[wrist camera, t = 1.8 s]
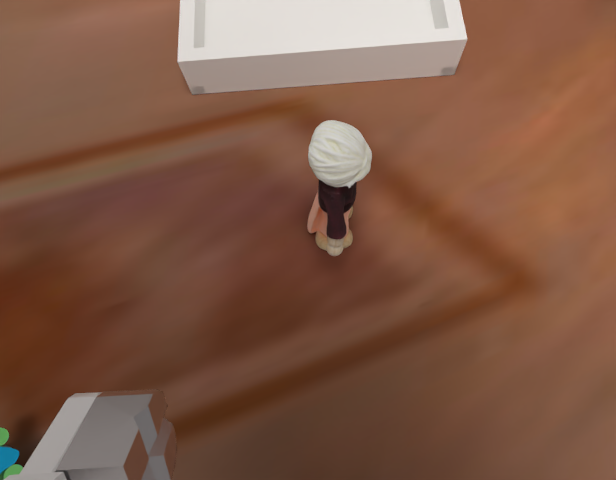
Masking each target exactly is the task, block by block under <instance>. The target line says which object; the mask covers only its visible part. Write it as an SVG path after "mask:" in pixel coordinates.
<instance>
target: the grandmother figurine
mask: <svg viewBox="0 0 616 480" xmlns="http://www.w3.org/2000/svg"><path fill="white" fill-rule="evenodd" d="M308 160H309V165H310V167H311V168H312V171H313V172H314V174H315V175H316V177H317V178H318V179H319V188H318V191H317V195H316V197H315V199H314V202H313V205H312V208H311V211H310V214H309V218H308V224H307V228H308V231H309V232H310V233H314V232H316V231H317V232H316V243H317V245H318V246H319V248H321V249H323V250H327V252H328V253H329V254H330V255H332V256H338V255H340V254H341V253H342V251H343V248H347V247H349V246H350V245H351V244H352V241H353V235H352V232H351V230H350V229H349V223H348V219H349V218H350V217H351V216H352V213H353V203H354V201H355V196H356V183H357V182H356V181H360V180H362V179H363V178H364V177H365V176H366V175H367V174H368V173H369V171H370V167H371V160H372V152H371V150H370V148H369V146H368V144H367V143H366V142H365V139H364V138H363V136H362V134H361V133H360V132H359V131H358V130H357V129H356V128H354V127H353V126H351V125H349V124H346V123H343V122H339V121H334V120H329V121H325V122H323V123H321V124H320V125H319V126H318V127H317V128H316V129H315V131H314V134H313V136H312V139H311V143H310V145H309V152H308Z"/></svg>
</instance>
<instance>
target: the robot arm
mask: <svg viewBox="0 0 616 480" xmlns="http://www.w3.org/2000/svg"><path fill="white" fill-rule="evenodd" d="M167 407H168V405H167V402H166V399H165V396H164V393H163V391H160V390H158V389H153V390H130V391H106V392H98V393H75V394H74V395H72V396H71V397H69V398H68V399H67V400H66V401H65V403H64V405H63V406H62V408H61V409H60V411H59V412H58V414H57V416H56V417H55V419H54V420H53V422H52V423H51V425H50V427H49V428H48V430H47V431H46V433H45V434H44V436H43V438H42V439H41V441H40V442H39V444H38V445H37V447H36V449H35V450H34V452H33V453H32V455H31V457H30V458H29V460H28V461H27V463H26V464H25V466H24V468H23V469H22V471H21V472H20V474H16V475H9V476H8V477H6V478H5V479H4V480H172V476H173V472H174V469H175V463H176V453H177V443H176V434H175V430H174V426H173V424H172V423H170V422H169V421H168V420H166V419H165V418H164V415H165V412H166V409H167Z"/></svg>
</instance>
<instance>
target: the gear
mask: <svg viewBox="0 0 616 480" xmlns="http://www.w3.org/2000/svg"><path fill="white" fill-rule="evenodd" d="M8 438H9V433H8V431H7V430H6V429H4V428H0V480H4V479H5V478H6V477H8V476H9V475H16V474H20V472H21V471H22V469H23V467H22V466H21V465H18V464H15V465H14V463H15V462H16V461H17V459H18V457H19V451H18V450H16V449H13V448H12V447H10V446H7V445H3V444H5V443H6V442H7V440H8Z"/></svg>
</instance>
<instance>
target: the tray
mask: <svg viewBox="0 0 616 480" xmlns="http://www.w3.org/2000/svg"><path fill="white" fill-rule="evenodd" d="M466 42H467V35H466V31H465V26H464V21H463V16H462V12H461V7H460V2H459V0H180V19H179V40H178V64H179V66H180V69H181V71H182V73H183V75H184V77H185V80H186V82H187V84H188V86H189V89H190V91H191V93H192V95H194V94H207V93H220V92H233V91H246V90H260V89H273V88H286V87H299V86H312V85H325V84H338V83H352V82H365V81H378V80H391V79H404V78H417V77H430V76H443V75H454V74H455V71H456V68H457V66H458V63H459V60H460V58H461V55H462V52H463V50H464V47H465V44H466Z"/></svg>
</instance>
